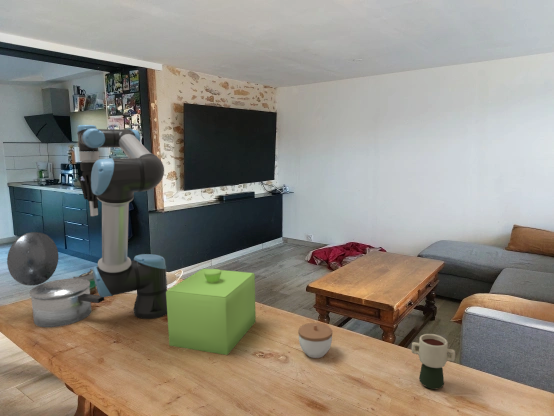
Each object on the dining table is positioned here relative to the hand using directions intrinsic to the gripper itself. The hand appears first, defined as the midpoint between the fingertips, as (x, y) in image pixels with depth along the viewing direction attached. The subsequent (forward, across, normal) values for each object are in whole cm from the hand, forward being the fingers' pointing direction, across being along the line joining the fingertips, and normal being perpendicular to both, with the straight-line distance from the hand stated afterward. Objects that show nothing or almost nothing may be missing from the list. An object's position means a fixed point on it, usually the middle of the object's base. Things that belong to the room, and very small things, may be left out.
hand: (94, 215), depth 170 cm
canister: (+36, -68, +16) cm, 79 cm away
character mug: (+36, -140, +23) cm, 146 cm away
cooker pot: (+36, -8, +23) cm, 44 cm away
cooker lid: (+14, +8, +23) cm, 28 cm away
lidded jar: (+36, -105, +18) cm, 113 cm away
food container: (+37, +6, +1) cm, 37 cm away
